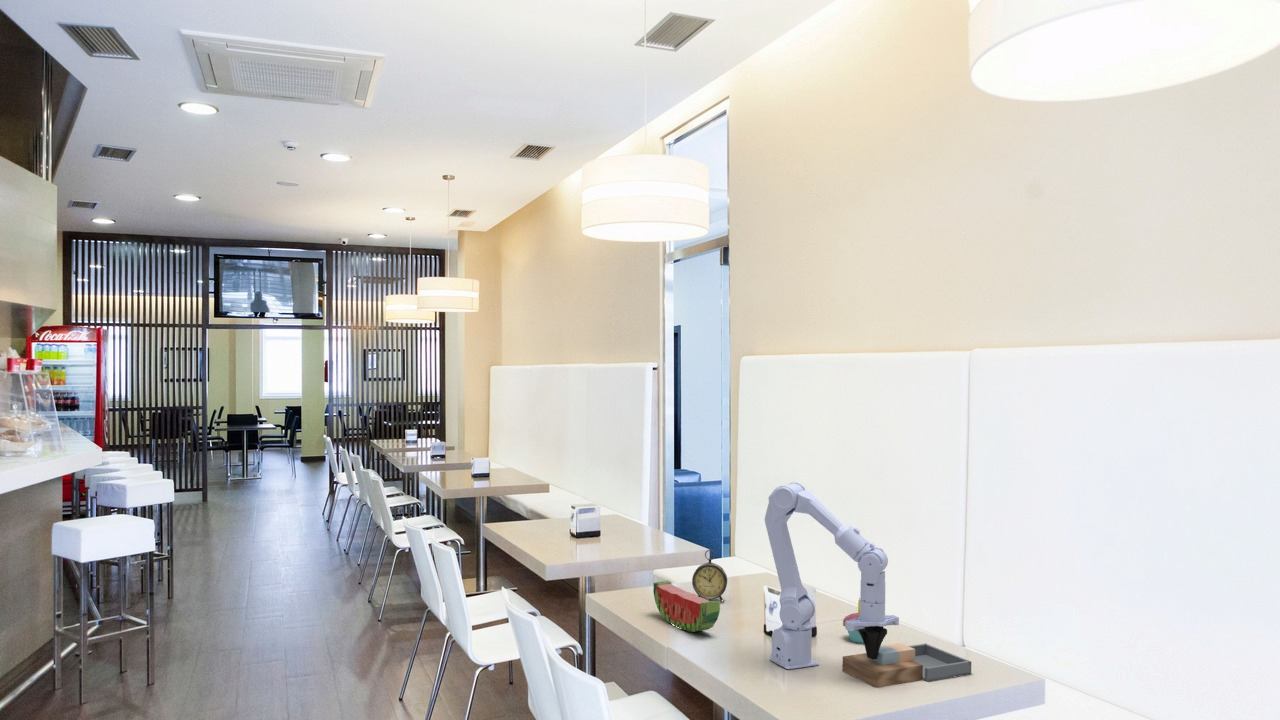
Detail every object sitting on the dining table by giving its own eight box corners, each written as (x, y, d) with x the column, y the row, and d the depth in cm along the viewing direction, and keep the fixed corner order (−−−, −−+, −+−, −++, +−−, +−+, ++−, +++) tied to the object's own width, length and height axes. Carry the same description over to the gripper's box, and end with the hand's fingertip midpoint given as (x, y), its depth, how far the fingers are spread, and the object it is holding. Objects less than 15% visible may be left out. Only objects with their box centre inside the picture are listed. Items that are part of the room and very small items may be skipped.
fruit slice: (651, 616, 243) (652, 582, 244) (669, 614, 247) (670, 580, 247) (702, 641, 221) (703, 603, 221) (721, 638, 224) (722, 601, 224)
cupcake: (876, 646, 220) (876, 601, 220) (843, 643, 221) (843, 598, 222) (873, 636, 228) (874, 593, 228) (842, 634, 230) (842, 590, 230)
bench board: (876, 687, 189) (876, 672, 189) (842, 670, 200) (842, 656, 200) (922, 679, 195) (922, 665, 195) (887, 663, 206) (887, 649, 206)
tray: (927, 681, 194) (927, 668, 194) (883, 661, 207) (883, 649, 207) (971, 674, 200) (971, 661, 200) (925, 655, 213) (925, 643, 213)
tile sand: (899, 662, 197) (899, 651, 197) (884, 656, 201) (884, 645, 201) (915, 660, 199) (915, 649, 199) (900, 653, 203) (900, 643, 203)
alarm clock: (691, 602, 261) (692, 550, 261) (693, 597, 266) (694, 547, 267) (726, 604, 259) (727, 552, 259) (727, 600, 264) (728, 549, 265)
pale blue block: (882, 665, 194) (882, 653, 195) (868, 658, 199) (868, 647, 199) (898, 662, 197) (899, 651, 197) (884, 656, 201) (884, 645, 201)
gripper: (859, 607, 190) (858, 667, 190) (908, 601, 196) (907, 659, 196) (840, 599, 196) (839, 657, 196) (887, 594, 203) (886, 650, 202)
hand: (871, 658), depth 196 cm, fingers closed
